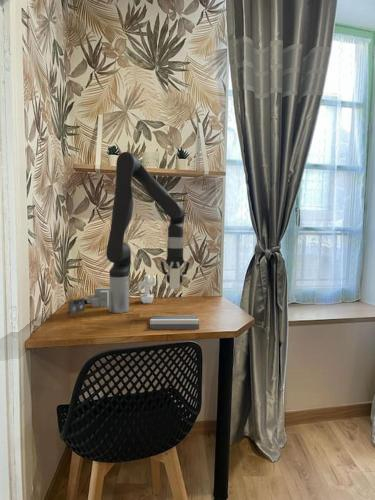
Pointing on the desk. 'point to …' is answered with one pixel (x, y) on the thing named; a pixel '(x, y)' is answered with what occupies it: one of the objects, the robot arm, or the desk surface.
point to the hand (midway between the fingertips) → (174, 283)
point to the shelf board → (174, 322)
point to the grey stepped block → (99, 297)
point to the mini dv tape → (76, 306)
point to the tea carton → (175, 278)
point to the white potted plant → (147, 289)
